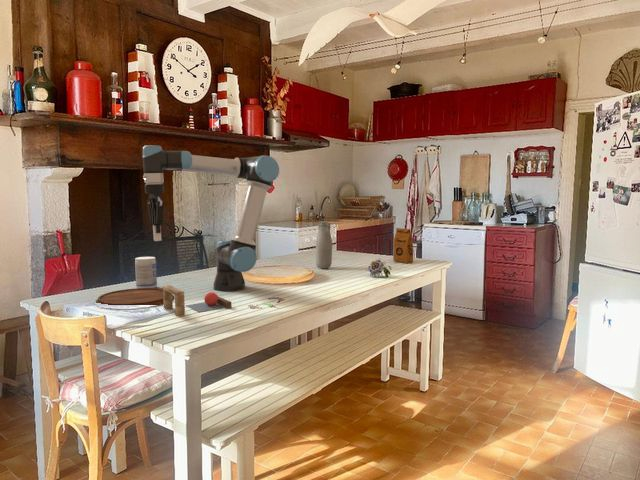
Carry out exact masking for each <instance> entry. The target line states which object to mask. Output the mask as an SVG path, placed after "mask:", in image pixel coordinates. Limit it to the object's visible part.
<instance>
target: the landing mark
mask: <svg viewBox="0 0 640 480" xmlns="http://www.w3.org/2000/svg"><path fill="white" fill-rule="evenodd" d="M185 307H187V308H189V309H192V310H193V311H195V312H197V313H203V312H211V311H215V310H221V309H226V308H225V307H223V306H221V305H219V304H215V305H213V306H209V305H207V304H206V303H205V301H204V302H198V303H191V304H186V305H185Z"/></svg>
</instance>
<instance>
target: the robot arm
mask: <svg viewBox="0 0 640 480" xmlns="http://www.w3.org/2000/svg"><path fill="white" fill-rule="evenodd" d="M162 148H163V147H162V146H161V145H144V146H143V147H142V157H141V158H142V165H143V167H142V168H143V176H142V177H143V178H142V179H143V180H144V183H145V184H144V193H145V194H147V195H148V200H146V205H147V208H148V210H147V211H148V214H149V222H150V224H151V225H152V231H153V233H152V234H153V241H154V242H160V241H161V242H162V224H164V207H165V205H164V204H165V201H164V200H162V195H161V194H164V193H165V185H164V170H166V171H179V172H180V171H182V172H190V173H191V172H193V173H200V174H201V173H203V174H213V175H214V174H215V175H224V176H225V175H226V176H233V178H234V179H243V180H246V183H247V185H248V187H247V192H246V196H245V199H244V204H243V207H242V211H241V215H240V219H239V223H238V226H237V231H236V234H235V236H234V237H232V238H231V240H222V241H217V243H216V248H215V252H216V275H215V278H214V281H213V283H212V284H213V289H214V290H216V291H219V292H220V291H223V292H232V291H240V290H242V289H246V282H245V279H244V278H245V277H244V276H243V273H246V272H249V271H250V270H252V269H253V268H254V267H255V265H256V263H257V260H258V259H257V258H258V257H257V253H256V248H257V244H256V242H255V239H256V234H257V230H258V227H259V224H260V218H261V215H262V211H263V207H264V204H265V200H266V195H267V192H268V190H270V189H272V186H273V183H274V182H273V181H275V180H276V179H277V178H278V177H279V175H280V166H279V163H278V162H277V160H276V159H275V158H274V157H272V156H270V155H263V154H262V155H259V156H251V157H250V156H249V157H235V158H234V159H233V158H225V157H224V158H222V157H217V156H216V157H213V156H205V155H196V154H192V153H191V152H190V151H188V150H163V149H162Z"/></svg>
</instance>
